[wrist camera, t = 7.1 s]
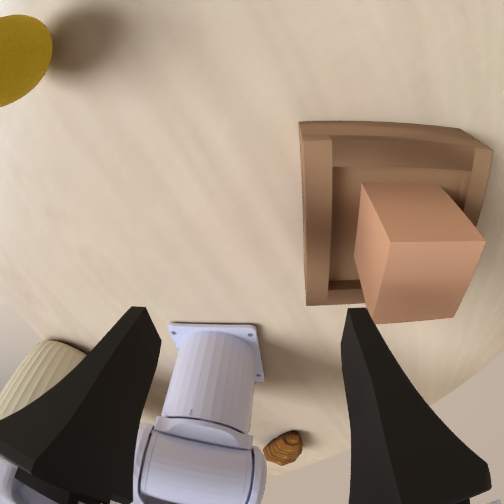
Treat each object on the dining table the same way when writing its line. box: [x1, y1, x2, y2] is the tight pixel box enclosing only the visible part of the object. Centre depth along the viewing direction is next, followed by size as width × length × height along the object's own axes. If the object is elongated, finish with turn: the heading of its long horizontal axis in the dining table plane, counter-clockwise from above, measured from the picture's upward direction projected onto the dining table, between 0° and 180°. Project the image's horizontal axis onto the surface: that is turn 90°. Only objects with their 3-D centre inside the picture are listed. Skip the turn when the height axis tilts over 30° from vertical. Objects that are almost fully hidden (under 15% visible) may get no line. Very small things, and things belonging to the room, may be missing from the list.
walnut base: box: [299, 121, 493, 306], centre depth 16 cm, size 10×10×4 cm
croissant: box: [263, 432, 303, 466], centre depth 43 cm, size 14×7×5 cm, turn 170°
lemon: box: [0, 15, 53, 107], centre depth 10 cm, size 6×6×8 cm
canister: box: [0, 340, 87, 420], centre depth 27 cm, size 18×18×21 cm
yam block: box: [354, 183, 486, 324], centre depth 13 cm, size 4×4×5 cm
